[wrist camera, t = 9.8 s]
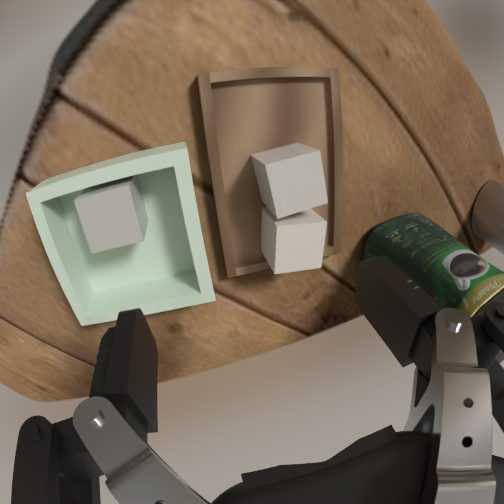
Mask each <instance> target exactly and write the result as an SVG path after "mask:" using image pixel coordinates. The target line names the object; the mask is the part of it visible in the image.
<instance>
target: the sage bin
mask: <svg viewBox="0 0 504 504" xmlns="http://www.w3.org/2000/svg"><path fill="white" fill-rule="evenodd" d="M137 174H138V179H139V183H140V187H141V191H142V196H143V200H144V204H145V208H146V212H147V215H148V219H149V220H148V224H147V229H146V234H145V239H144V241H143V242H138V243H134V244H130V245H126V246H121V247H117V248H113V249H109V250H105V251H101V252H97V253H93V254H92V253H91V250H90V247H89V244H88V242H87V239H86V236H85V233H84V230H83V227H82V224H81V221H80V218H79V215H78V212H77V209H76V206H75V203H74V200H75V199H76V198H77V197H78V196H79V195H80V194H81V193H82V192H83V191H84V190H85V189H86V188H88V187H91V186H95V185H98V184H102V183H106V182H109V181H113V180H117V179H121V178H125V177H129V176H133V175H137ZM26 195H27V199H28V202H29V205H30V208H31V211H32V214H33V217H34V220H35V223H36V226H37V229H38V232H39V234H40V237H41V240H42V242H43V245H44V248H45V250H46V253H47V255H48V257H49V260H50V262H51V265H52V267H53V269H54V271H55V274H56V276H57V278H58V280H59V283H60V285H61V287H62V289H63V291H64V293H65V295H66V297H67V299H68V301H69V303H70V305H71V307H72V309H73V311H74V313H75V315H76V317H77V319H78V320H79V322H80V324H81V326H85V325H91V324H97V323H103V322H109V321H114V320H117V318H118V314H119V312H120V311H125V310H131V309H137V308H140V309H141V310H142V312H143V314H144V315H147V314H153V313H158V312H163V311H168V310H173V309H178V308H183V307H188V306H193V305H198V304H202V303H207V302H212V301H216V299H215V295H214V290H213V285H212V281H211V276H210V271H209V266H208V261H207V256H206V251H205V246H204V241H203V236H202V231H201V226H200V220H199V215H198V210H197V204H196V198H195V193H194V187H193V181H192V175H191V169H190V163H189V157H188V151H187V145H186V141H185V142H180V143H175V144H170V145H165V146H161V147H156V148H151V149H147V150H143V151H139V152H134V153H130V154H126V155H122V156H119V157H115V158H111V159H108V160H104V161H100V162H97V163H93V164H90V165H87V166H84V167H80V168H77V169H74V170H71V171H68V172H65V173H62V174H59V175H56V176H53V177H50V178H47V179H46V180H44V181H43V182H41V183H40V184H38V185H37V186H35V187H34V188H32V189H31V190H30V191H28V192H27V193H26Z"/></svg>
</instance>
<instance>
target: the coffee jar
mask: <svg viewBox="0 0 504 504" xmlns="http://www.w3.org/2000/svg"><path fill="white" fill-rule="evenodd" d="M374 257H381V258H382V259H383V260H384V261H385V262H386V263H387V264H388V265H390V266H393V267H396V268H398V269H400V270H402V271H404V272H405V273H406V274H407V275H408V276H409V277H410V278H412V281H415V282H416V283H417V284H418V285H419V287H421V288H422V289H423V290H424V291H425V292H426V293H428V294H429V295H430V296H431V297H432V298H433V299H434V300H435V301H436V302H437V303H438V304H439V305H440V306H441V307H442V308H443V309H445V308H455V309H458V310H461V311H462V312H464V313H465V314H467V315H468V316H469V317H475V316H481V315H484V312H485V310H486V307H487V306H488V304H490V303H492V302H500V303H503V304H504V272H503V271H501V270H499V269H498V268H496V267H494V266H493V265H491V264H490V263H488V262H487V261H485V260H484V259H483V258H481V257H480V256H479V255H477V254H476V253H475V252H473V251H472V250H471V249H469V248H468V247H467V246H465V245H464V244H463V243H461V242H460V241H459V240H457V239H456V238H454V237H453V236H452V235H450V234H449V233H448V232H447V231H445V230H444V229H443V228H441V227H440V226H439V225H437V224H436V223H434V222H433V221H431V220H430V219H428V218H427V217H425V216H423V215H422V214H419V213H413V214H407V215H402V216H399V217H395V218H392V219H390V220H388V221H385V222H383V223H381V224H379V225H377V226H376V227H375V228H374V229H373V230H372V231H371V233H370V235H369V236H368V238H367V240H366V244H365V247H364V254H363V260H366V259H370V258H374ZM496 360H497V361H498V363H500V362H501V361H503V360H504V353H503V351H502V350H501V351H500V353H499V355H498V356H497V358H496Z"/></svg>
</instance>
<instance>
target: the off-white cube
mask: <svg viewBox="0 0 504 504" xmlns="http://www.w3.org/2000/svg"><path fill="white" fill-rule="evenodd" d="M74 203H75V206H76V209H77V212H78V215H79V218H80V221H81V224H82V227H83V230H84V233H85V236H86V239H87V242H88V244H89V247H90V250H91V253H92V254H93V253H97V252H101V251H105V250H109V249H113V248H117V247H121V246H126V245H130V244H134V243H138V242H143V241H144V239H145V234H146V229H147V224H148V220H149V219H148V215H147V212H146V208H145V204H144V200H143V196H142V191H141V187H140V183H139V179H138V174H137V175H133V176H129V177H125V178H121V179H117V180H113V181H109V182H106V183H102V184H98V185H95V186H91V187H88V188H86V189H85V190H84V191H83V192H82V193H81V194H80V195H79V196H78V197H77V198H76V199H75V200H74Z"/></svg>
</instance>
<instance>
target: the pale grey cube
mask: <svg viewBox="0 0 504 504" xmlns="http://www.w3.org/2000/svg"><path fill="white" fill-rule="evenodd" d="M251 159H252V163H253V167H254V171H255V175H256V179H257V183H258V187H259V191H260V195H261V199H262V202H263V203H264V204H265V205H266V206H267V208H268V209H269V210H270V211H271V212H272V213H273V214H274V216H275V217H276V218H277V219H279V218H282V217H285V216H288V215H291V214H295V213H298V212H301V211H304V210H307V209H310V208H313V207H317V206H320V205H323V204H326V203H328V199H327V192H326V185H325V178H324V172H323V165H322V159H321V153H320V150H317V149H314V148H312V147H309V146H306V145H303V144H300V143H294V144H290V145H286V146H282V147H278V148H275V149H271V150H267V151H263V152H260V153H256V154H252V155H251Z"/></svg>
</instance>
